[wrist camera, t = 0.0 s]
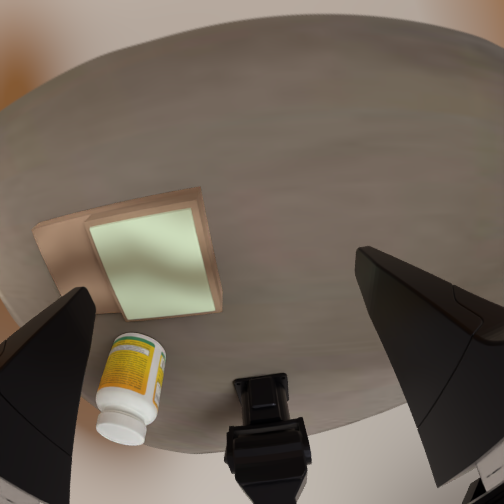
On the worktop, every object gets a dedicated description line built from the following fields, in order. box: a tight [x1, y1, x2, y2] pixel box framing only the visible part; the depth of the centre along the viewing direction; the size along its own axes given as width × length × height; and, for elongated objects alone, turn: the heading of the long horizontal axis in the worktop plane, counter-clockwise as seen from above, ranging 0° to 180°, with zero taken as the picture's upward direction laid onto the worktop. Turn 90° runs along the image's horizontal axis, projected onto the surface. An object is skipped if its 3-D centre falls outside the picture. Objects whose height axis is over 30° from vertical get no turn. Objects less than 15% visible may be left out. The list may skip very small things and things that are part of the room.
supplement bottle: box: [96, 333, 166, 446], centre depth 26 cm, size 6×6×11 cm
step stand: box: [32, 187, 223, 322], centre depth 24 cm, size 10×16×3 cm, turn 97°
